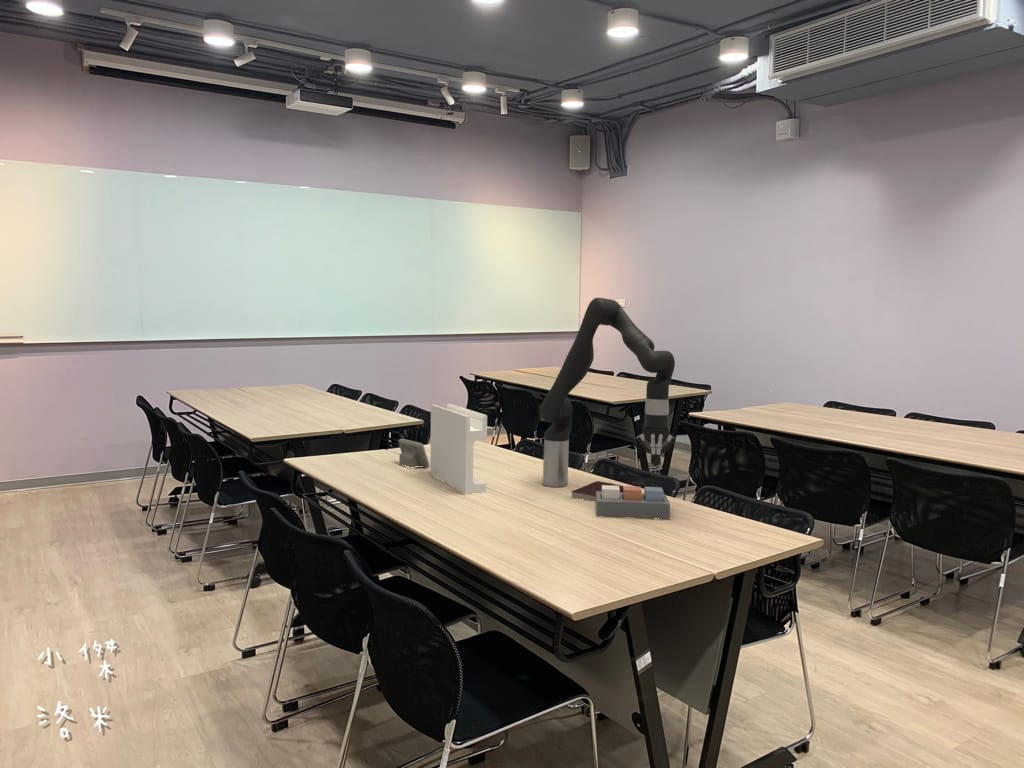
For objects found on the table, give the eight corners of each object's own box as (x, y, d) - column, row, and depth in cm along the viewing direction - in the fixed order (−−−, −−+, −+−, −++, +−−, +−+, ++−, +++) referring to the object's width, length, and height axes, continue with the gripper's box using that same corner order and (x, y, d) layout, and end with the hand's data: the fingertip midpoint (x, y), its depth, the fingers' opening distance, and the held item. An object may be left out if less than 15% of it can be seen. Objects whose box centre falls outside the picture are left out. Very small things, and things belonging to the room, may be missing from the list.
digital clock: (430, 468, 302) (431, 442, 301) (410, 470, 297) (410, 444, 296) (414, 461, 315) (414, 436, 314) (395, 463, 311) (395, 438, 310)
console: (596, 516, 235) (597, 501, 234) (595, 505, 248) (596, 491, 247) (669, 519, 233) (670, 504, 232) (664, 508, 246) (665, 494, 245)
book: (626, 494, 267) (626, 485, 266) (601, 505, 251) (602, 495, 250) (595, 489, 274) (596, 480, 273) (570, 499, 258) (570, 490, 257)
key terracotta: (623, 503, 237) (624, 490, 237) (622, 498, 243) (623, 485, 243) (641, 504, 237) (641, 490, 236) (639, 499, 242) (640, 486, 242)
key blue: (645, 504, 237) (646, 490, 236) (644, 499, 242) (644, 486, 242) (663, 504, 236) (663, 491, 236) (661, 500, 242) (661, 487, 241)
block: (430, 474, 290) (430, 404, 288) (449, 472, 294) (449, 403, 291) (465, 495, 259) (466, 416, 256) (486, 492, 263) (487, 415, 260)
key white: (601, 502, 238) (602, 489, 238) (601, 498, 244) (601, 485, 243) (619, 503, 238) (619, 489, 237) (618, 498, 243) (618, 485, 243)
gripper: (676, 411, 240) (674, 463, 241) (635, 410, 241) (633, 462, 242) (679, 414, 232) (677, 468, 234) (637, 413, 233) (635, 467, 235)
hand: (655, 465), depth 238 cm, fingers closed
